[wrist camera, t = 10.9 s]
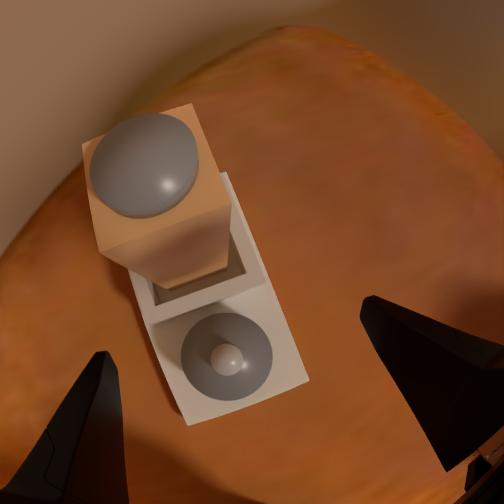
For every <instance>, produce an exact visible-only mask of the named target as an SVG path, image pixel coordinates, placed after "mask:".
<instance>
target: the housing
mask: <svg viewBox="0 0 504 504" xmlns="http://www.w3.org/2000/svg"><path fill="white" fill-rule="evenodd" d="M220 175H221V178H222V180H223V183H224V185H225V188H226V190H227V193H228V195H229V198H230V200H231V203H232V208H231V221H230V233H229V247H228V260H227V271H224V272H221V273H219V274H216V275H213V276H210V277H208V278H205V279H202V280H200V281H197V282H194V283H192V284H189V285H186V286H183V287H181V288H178V289H175V290H173V291H169V290H167V289H165V288H163V287H161V286H159V285H157V284H155V283H154V282H152V281H150V280H148V279H146V278H144V277H142V276H140V275H138V274H136V273H135V272H133V271H131V270H129V269H128V272H129V276H130V279H131V282H132V286H133V289H134V292H135V295H136V299H137V302H138V305H139V308H140V311H141V314H142V317H143V320H144V323H145V326H146V328H147V331H148V334H149V337H150V339H151V342H152V345H153V347H154V350H155V353H156V355H157V358H158V360H159V363H160V365H161V368H162V370H163V372H164V375H165V377H166V380H167V382H168V384H169V387H170V389H171V391H172V393H173V396H174V398H175V400H176V402H177V404H178V407H179V409H180V411H181V413H182V415H183V417H184V419H185V421H186V423H187V425H188V426H189V425H192V424H196V423H199V422H202V421H206V420H209V419H212V418H215V417H218V416H221V415H224V414H227V413H230V412H233V411H236V410H239V409H242V408H244V407H247V406H250V405H253V404H255V403H258V402H260V401H263V400H265V399H268V398H270V397H273V396H275V395H278V394H280V393H283V392H285V391H287V390H290V389H292V388H294V387H296V386H299V385H301V384H303V383H305V382H307V381H309V378H308V375H307V373H306V370H305V368H304V365H303V363H302V360H301V358H300V355H299V352H298V350H297V347H296V345H295V342H294V340H293V337H292V335H291V332H290V330H289V327H288V325H287V322H286V320H285V317H284V314H283V312H282V309H281V307H280V304H279V302H278V299H277V297H276V294H275V292H274V289H273V287H272V284H271V282H270V279H269V277H268V274H267V272H266V269H265V267H264V264H263V262H262V259H261V257H260V254H259V252H258V249H257V247H256V244H255V242H254V239H253V237H252V234H251V232H250V229H249V227H248V224H247V222H246V219H245V217H244V214H243V212H242V209H241V207H240V204H239V202H238V199H237V197H236V195H235V192H234V190H233V187H232V185H231V182H230V180H229V177H228V175H227V172H224V173H220Z"/></svg>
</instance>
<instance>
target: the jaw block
mask: <svg viewBox="0 0 504 504" xmlns="http://www.w3.org/2000/svg"><path fill="white" fill-rule="evenodd" d="M82 151H83V161H84V170H85V178H86V185H87V192H88V198H89V204H90V210H91V215H92V221H93V226H94V231H95V236H96V240H97V245H98V249H99V253H100V254H102V255H104V256H106V257H107V258H109V259H111V260H113V261H114V262H116V263H118V264H120V265H122V266H123V267H125V268H127V269H129V270H131V271H133V272H135V273H136V274H138V275H140V276H142V277H144V278H146V279H148V280H150V281H152V282H154V283H155V284H157V285H159V286H161V287H163V288H165V289H167V290H169V291H173V290H175V289H178V288H181V287H183V286H186V285H189V284H192V283H194V282H197V281H200V280H202V279H205V278H208V277H210V276H213V275H216V274H219V273H221V272H224V271H227V260H228V247H229V233H230V221H231V208H232V203H231V200H230V198H229V195H228V193H227V190H226V188H225V185H224V183H223V180H222V178H221V175H220V173H219V170H218V168H217V165H216V163H215V160H214V158H213V155H212V153H211V150H210V148H209V145H208V143H207V140H206V138H205V135H204V133H203V131H202V128H201V126H200V123H199V121H198V118H197V116H196V113H195V111H194V108H193V106H192V103H191V104H187V105H184V106H181V107H177V108H174V109H171V110H168V111H165V112H162V113H147V114H141V115H137V116H134V117H131V118H129V119H126V120H124V121H123V122H121V123H119V124H118V125H116V126H115V127H113V128H112V129H111V130H110V131H109V132H108V133H106V134H104V135H102V136H99V137H97V138H95V139H92V140H90V141H88V142H86V143H84V144H82Z"/></svg>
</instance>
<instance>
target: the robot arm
mask: <svg viewBox="0 0 504 504" xmlns="http://www.w3.org/2000/svg"><path fill="white" fill-rule="evenodd" d="M360 320H361V322H362V324H363V326H364V328H365V330H366V332H367V334H368V336H369V338H370V340H371V342H372V344H373V346H374V348H375V350H376V352H377V354H378V355H379V357H380V359H381V360H382V362H383V363H384V365H385V367H386V368H387V370H388V371H389V373H390V375H391V376H392V378H393V380H394V381H395V383H396V385H397V386H398V388H399V389H400V391H401V393H402V394H403V396H404V398H405V400H406V401H407V403H408V405H409V406H410V408H411V410H412V411H413V413H414V415H415V417H416V418H417V420H418V422H419V424H420V425H421V427H422V429H423V431H424V432H425V434H426V436H427V438H428V440H429V442H430V443H431V445H432V447H433V449H434V451H435V452H436V454H437V456H438V458H439V460H440V462H441V464H442V466H443V467H444V469H445V471H446V472H448V471H450V470H451V469H453V468H454V467H455V466H457V465H458V464H459V463H461V462H462V461H463V460H465V459H466V458H467V457H468V456H470V455H471V454H472V453H473V452H475V451H476V450H477V451H478V452H479V455H478V456H477V457H476V458H475V459H474V460H473V461H472V462H471V463H470V464H469V465H468V471H467V477H466V483H465V488H464V489H465V491H466V493H465V494H464V495H463V496H461V497H460V498H459V499H458V500H457V501H456V502H455V503H453V504H504V345H501V344H497V343H494V342H491V341H488V340H485V339H482V338H479V337H476V336H473V335H470V334H468V333H465V332H463V331H460V330H458V329H455V328H452V327H450V326H448V325H446V324H443V323H441V322H438V321H436V320H434V319H431V318H429V317H426V316H424V315H421V314H419V313H417V312H414V311H412V310H409V309H407V308H404V307H402V306H399V305H397V304H395V303H392V302H390V301H387V300H385V299H382V298H380V297H377V296H375V295H372V296H369V297H366V298H364V300H363V303H362V307H361V311H360ZM0 504H129V497H128V489H127V480H126V470H125V458H124V441H123V415H122V405H121V397H120V388H119V378H118V370H117V367H116V365H115V363H114V361H113V359H112V357H111V355H110V354H109V352H108V351H99V352H96V353H95V354H94V355H93V357H92V358H91V360H90V361H89V363H88V364H87V365H86V367H85V368H84V370H83V371H82V373H81V374H80V376H79V377H78V379H77V380H76V382H75V383H74V385H73V386H72V388H71V389H70V391H69V392H68V394H67V395H66V397H65V398H64V400H63V401H62V403H61V404H60V406H59V408H58V409H57V411H56V412H55V414H54V416H53V417H52V419H51V420H50V422H49V424H48V425H47V429H45V430H44V432H43V433H42V435H41V437H40V438H39V440H38V441H37V443H36V445H35V446H34V448H33V449H32V451H31V452H30V454H29V455H28V457H27V458H26V459H25V461H24V462H23V464H22V465H21V466H20V468H19V469H18V471H17V472H16V473H15V475H14V476H13V478H12V479H11V480H10V482H9V483H8V484H7V485H6V486H5V487H4V488H3V489H1V490H0Z"/></svg>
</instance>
